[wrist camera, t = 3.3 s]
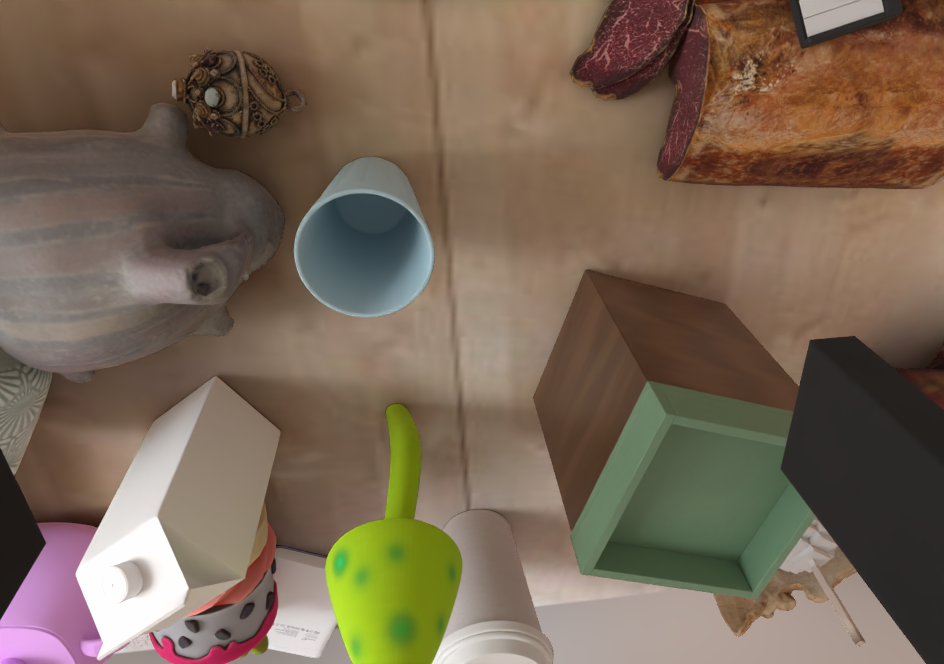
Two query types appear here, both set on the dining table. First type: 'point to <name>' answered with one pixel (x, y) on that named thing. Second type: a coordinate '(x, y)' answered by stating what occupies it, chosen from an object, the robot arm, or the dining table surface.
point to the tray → (694, 496)
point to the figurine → (781, 593)
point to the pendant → (234, 93)
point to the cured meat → (780, 92)
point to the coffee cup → (491, 598)
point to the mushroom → (395, 568)
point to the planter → (19, 405)
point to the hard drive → (301, 604)
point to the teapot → (53, 605)
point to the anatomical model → (929, 379)
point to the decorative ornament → (810, 557)
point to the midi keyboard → (838, 17)
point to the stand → (639, 370)
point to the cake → (229, 614)
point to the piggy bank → (121, 243)
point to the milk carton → (180, 516)
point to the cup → (365, 242)
